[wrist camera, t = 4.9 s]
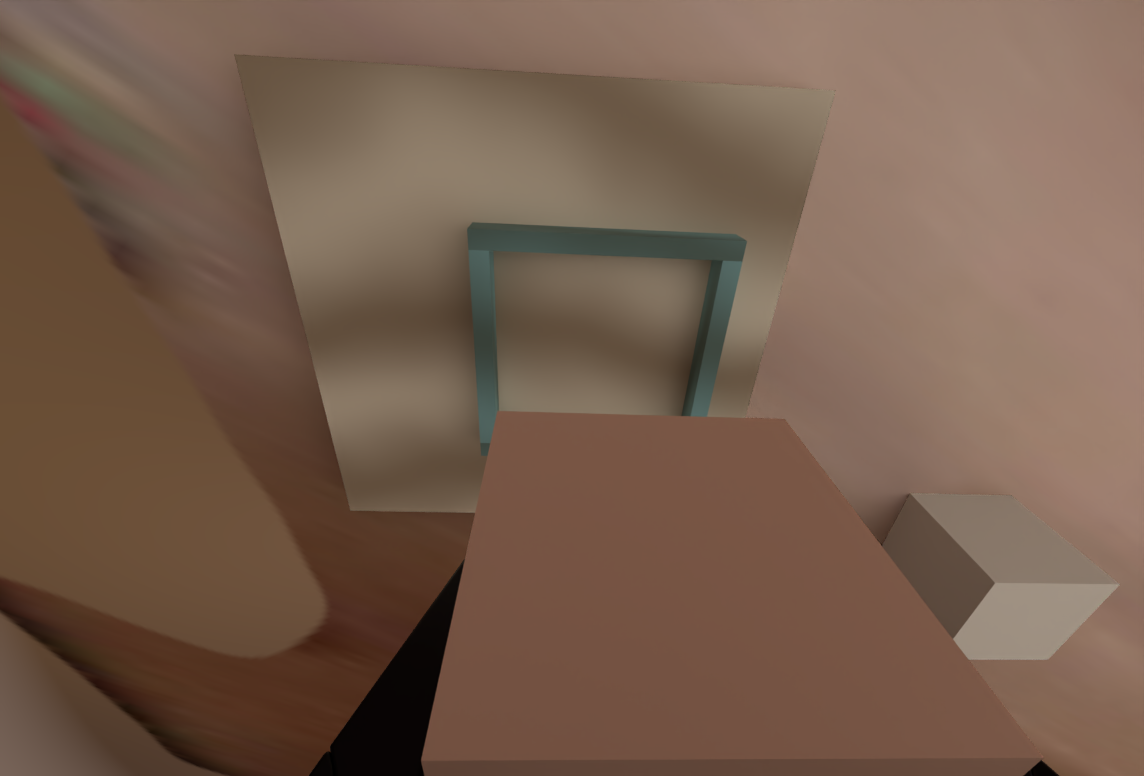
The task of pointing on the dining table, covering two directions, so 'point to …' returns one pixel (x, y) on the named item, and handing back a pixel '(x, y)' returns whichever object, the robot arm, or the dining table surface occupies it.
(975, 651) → the cream block
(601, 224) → the base plate
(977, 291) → the dining table surface
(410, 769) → the robot arm
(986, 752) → the terracotta block
